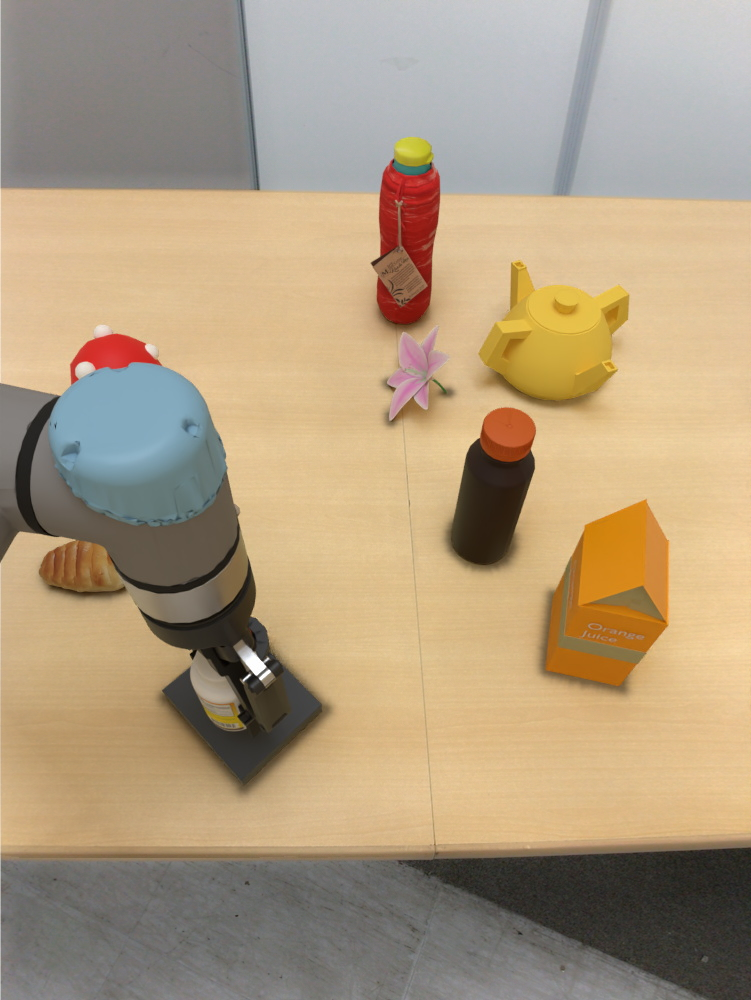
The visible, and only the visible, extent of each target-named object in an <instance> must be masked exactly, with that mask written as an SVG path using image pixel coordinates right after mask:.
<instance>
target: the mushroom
mask: <svg viewBox="0 0 751 1000" xmlns="http://www.w3.org/2000/svg"><path fill="white" fill-rule="evenodd" d="M159 357H160V350H159V348H158V346H156V345H154V344H153V343H146V342H144V341H142V340H139V339H138V338H134V337H132V336H130V335H126V334H121V333H114V330H113V329H112V328H111V326H109V325H108V324H99V325H97V326H95V327H94V329H93V339H90V340H88V341H87V342H85V343H84V344H83V345H82V346H81V347H80V349H79V350H78V352H77V353H76V355H75V356H74V358H73V359H72V361H71V362H70V364H69V368H70V369H69V370H70V372H69V373H70V386H71V385H72V384H73V383H75V382H76V381H78V380H79V379H80V378H82V377H84V376H86V375H87V374H89V373H91V372H93V371H96V370H98V369H101V368H105V367H109V368H111V369H119V368H124V367H128V365H129V364H130V363H133V362H140V363H151V364H156V365H160V366H163V364H162V363H161V362H160V361H159Z"/></svg>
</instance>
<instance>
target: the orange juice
mask: <svg viewBox="0 0 751 1000" xmlns="http://www.w3.org/2000/svg"><path fill="white" fill-rule="evenodd" d="M564 569H565V570H564V572H563V573H562V576H561V578H560V580H559V582H558V585H557V586H556V589H555V590H554V593H553V595H552V600H551V601H552V602H551V612H550V621H549V630H548V638H547V639H548V640H547V649H546V658H545V659H546V660H545V669H544V670H545V671H547V672H553V673H557V674H560V675H561V674H562V675H566V676H570V677H575V678H578V679H579V678H580V679H583V680H589V681H594V682H597V683H602V684H607V685H611V686H615V687H620V686H621V685H622V684H623V682H624V681H625V680H626V679H627V677H628V676H629V675H630V673H631V672H632V671H633V670H634V669H635V667H636V666H637V665H639V664H640V662H641V661H642V660H643V659H644V657H645V656H646V655H647V653H648V651H649V650H650V649H651V648H652V646H653V645H654V644H655V642H657V640H658V639H659V638H660V636H661V635H662V634H663V633H664V632H665V631H666V629H667V628H668V627H669V620H670V616H669V613H670V612H669V610H670V609H669V608H670V540H669V539H668V538H667V537H666V535H665V533H664V531H663V529H662V527H661V525H660V523H659V522H658V520H657V518H656V517H655V515H654V513H653V511H652V509H651V508H650V506H649V504H648V498H645V499H643V500H641V501H639V502H635V503H633V504H631V505H629V506H626V507H624V508H622V509H619V510H617V511H615V512H612V513H609V514H608V515H607V514H606V515H604V516H603V517H599V518H598V519H595V520H593V521H591V522H588V523H586V524H584V529H583V531H582V533H581V535H580V538H579V540H578V542H577V544H576V546H575V548H574V550H573V553H572V555H571V556H570V558H569V561H568V562H567V564H566V565H565V568H564Z"/></svg>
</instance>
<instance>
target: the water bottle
mask: <svg viewBox="0 0 751 1000" xmlns="http://www.w3.org/2000/svg"><path fill="white" fill-rule="evenodd" d="M434 157H435V154H434V153H433V152H432V145H431V144H430V142H429V141H428V140H427V139H424V138H421V137H418V136H406V137H403V138H400V139H399V140H398V141H396V142H395V143H394V147H393V158H392V159H391V160H390V161H389V164H388V165H386V166H385V168H384V170H383V172H382V177H381V184H380V191H379V199H378V200H379V201H378V225H379V238H380V239H379V240H380V241H379V242H380V243H379V257H377V258H376V259H374V260H371V262H370V265H371V266H372V269H373V270H374V272H375V273H376V274H377V280H376V281H377V282H376V303H377V305H378V308H379V309H380V312H381V313H382V315H383V316H384V317H385V319H386V320H388V321H390V322H392V323H394V324H396V325H410V324H412V323H416V322H418V321H419V320H420V319H421V318H422V317H423V316H424V315H425V314H426V312H427V310H428V309H429V307H430V305H431V297H432V288H433V286H432V285H433V254H434V245H435V240H436V235H437V231H438V225H439V218H440V217H439V216H440V209H441V208H440V207H441V176H440V173H439V171H438V169H437V168H436V167H435V163H434V162H433V160H434Z"/></svg>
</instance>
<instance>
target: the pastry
mask: <svg viewBox="0 0 751 1000" xmlns="http://www.w3.org/2000/svg"><path fill="white" fill-rule="evenodd" d="M38 575H39V577H40V578H41V579H42V580H43V582H45V583H46V584H47V585H49V586H54V587H57V588H58V587H59V588H62V589H64V590H72V591H75V592H77V593H83V592H89V593H93V592H95V593H98V592H115V591H118V590H121V589H123V588H125V585H124V584H123V582H122V580H121V578H120V577H119V575H118V573H117V572H116V570H115V567H114V565H113V563H112V561H111V559H110V556H109V554H108V552H107V551H106V549H105V548H104V547H103V546H101V545H98V544H95V543H90V542H85V541H80V540H75V539H74V540H72V541H69V542H67V543H65V544H62V545H59V546H57V547H55V548H54V549H51V550H49V551H48V552H47V553H46V554H45V555H44V557H43V559H42V562H41V564H40V567H39V569H38Z"/></svg>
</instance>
